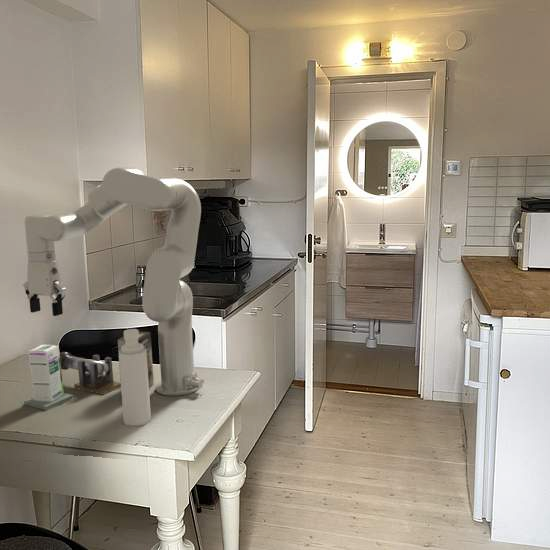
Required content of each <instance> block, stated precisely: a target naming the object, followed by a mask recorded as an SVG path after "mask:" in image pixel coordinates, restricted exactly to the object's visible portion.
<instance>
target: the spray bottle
mask: <svg viewBox="0 0 550 550" xmlns="http://www.w3.org/2000/svg"><path fill="white" fill-rule="evenodd" d="M139 332H140V331H139V329H137V328H130V329H129V328H127V329H125V330H124V331H123V337H124V339H125V343H126V344H125V345H123V346H121V348H120V349H119V350H118V349H117V352H118V351H119V353H118V366H119V365H120V368H119V380H120V379H121V382H120V383H121V387H120V393H121V392H122V394H121V401H122V404H121V405H122V415H123V423H124V424H125V425H126V426H130V427H138V426H142V425H145V424H148V423H149V422H150V421H151V420H152V415H151V401H150V388H149V382H148V367H147V353H146V347H145V346H143V344H140V343H138V338H139Z"/></svg>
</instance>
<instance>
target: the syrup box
mask: <svg viewBox="0 0 550 550" xmlns="http://www.w3.org/2000/svg"><path fill="white" fill-rule="evenodd" d="M59 347H60V346H59V345H58V344H57V345H56V344H40V345H38V346H37V347H34V348H33V349H30V350H28V351H27V353H28V361H29V368H30V369H29V370H30V376H31V384H32V385H31V386H32V392H33V393H32V395H33V397H34V400H35V401H42V402H53V401H54V400H55V399H57V398H58V397H60V396H62V395H63V394H64V393H65V392H64V391H65V390H64V382H63V373H62V372H63V371H62V369H61V363H60V348H59Z"/></svg>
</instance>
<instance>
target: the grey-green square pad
mask: <svg viewBox="0 0 550 550" xmlns="http://www.w3.org/2000/svg"><path fill="white" fill-rule="evenodd" d="M72 398H73V399H74V395H73V394H70V393H66V392H64V394H63V395H62V396H60V397H58V398H57V399H55V400H54V401H53V402H42V401H35V400H34V396H33V397H30V398H28V399H26V400H24V401H23V404H24V405H26V406H28V407H29V406H30V407H33V408H37V409H41V410H43V411H48V410H50V409H53V408H55V407H57V406H59V404H60V405H62V404H64V403H66V401H67V402H69V401H71V400H73V399H72ZM70 399H71V400H70ZM68 400H69V401H68Z"/></svg>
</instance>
